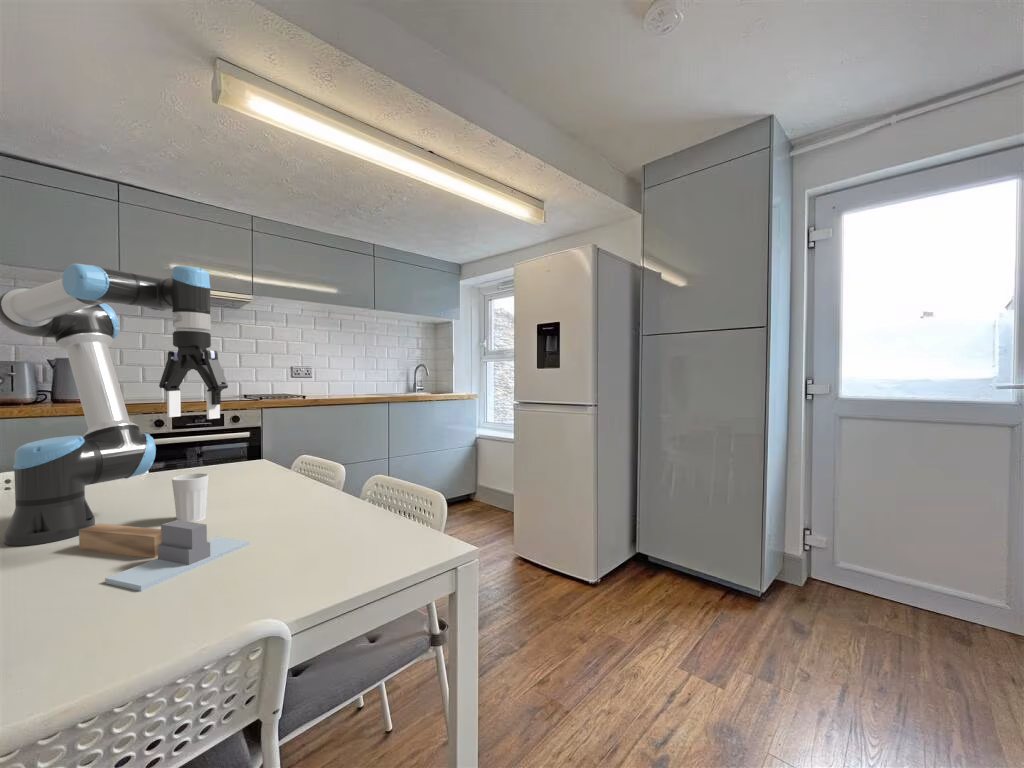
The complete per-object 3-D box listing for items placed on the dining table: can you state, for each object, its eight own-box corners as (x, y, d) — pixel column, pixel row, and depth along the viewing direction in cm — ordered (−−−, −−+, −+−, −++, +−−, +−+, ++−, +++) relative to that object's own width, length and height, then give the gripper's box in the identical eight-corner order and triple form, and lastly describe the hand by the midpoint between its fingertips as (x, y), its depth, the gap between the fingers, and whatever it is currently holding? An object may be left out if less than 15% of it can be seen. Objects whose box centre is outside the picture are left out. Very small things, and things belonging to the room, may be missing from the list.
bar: (99, 544, 100) (99, 523, 100) (173, 552, 96) (172, 530, 96) (79, 551, 96) (78, 529, 96) (154, 560, 92) (154, 536, 92)
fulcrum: (105, 583, 81) (104, 541, 81) (217, 540, 102) (216, 506, 102) (141, 591, 78) (140, 547, 78) (249, 545, 99) (249, 511, 99)
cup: (169, 528, 111) (168, 481, 110) (176, 518, 118) (175, 475, 117) (206, 523, 114) (206, 477, 114) (211, 514, 121) (210, 472, 121)
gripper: (140, 331, 106) (142, 417, 107) (214, 328, 98) (215, 420, 99) (172, 334, 113) (174, 414, 114) (244, 331, 106) (245, 417, 106)
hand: (193, 417), depth 106 cm, fingers open, 13 cm apart
